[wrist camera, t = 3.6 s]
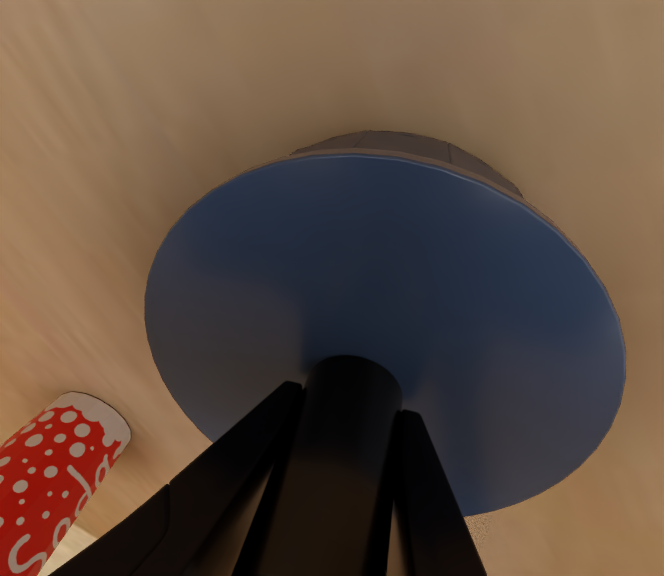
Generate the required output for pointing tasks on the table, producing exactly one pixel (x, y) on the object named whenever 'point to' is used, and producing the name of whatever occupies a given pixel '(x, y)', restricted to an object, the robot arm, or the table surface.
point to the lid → (382, 342)
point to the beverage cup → (53, 476)
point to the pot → (414, 151)
